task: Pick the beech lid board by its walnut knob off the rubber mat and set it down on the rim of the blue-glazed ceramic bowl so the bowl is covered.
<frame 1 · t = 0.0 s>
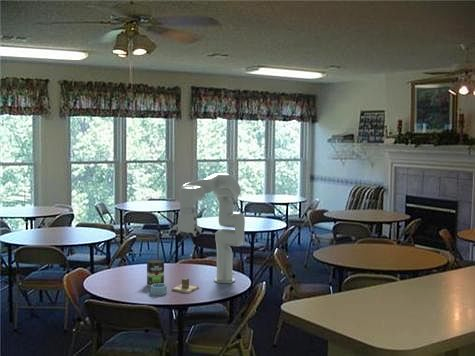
hand: (187, 242, 300), 31 cm above the table, fingers open, 9 cm apart
mat: (185, 290, 322), on the table
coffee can: (155, 284, 334), on the table
lid: (185, 289, 322), resting on mat
bowl: (158, 293, 316), on the table
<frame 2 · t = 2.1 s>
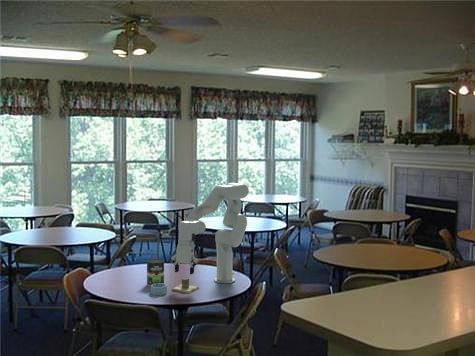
hand: (184, 272, 321), 10 cm above the table, fingers open, 9 cm apart
nothing on the table moved.
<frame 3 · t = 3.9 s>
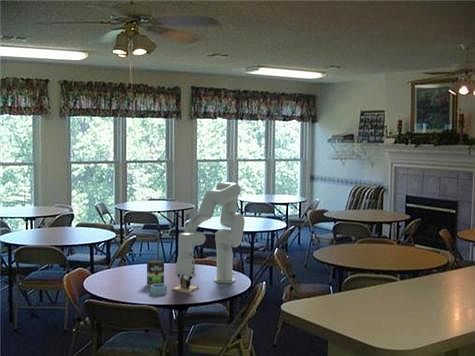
hand: (185, 286, 322), 2 cm above the table, fingers closed on lid, 3 cm apart
lid: (185, 289, 322), resting on mat, touching gripper
everything else where it was.
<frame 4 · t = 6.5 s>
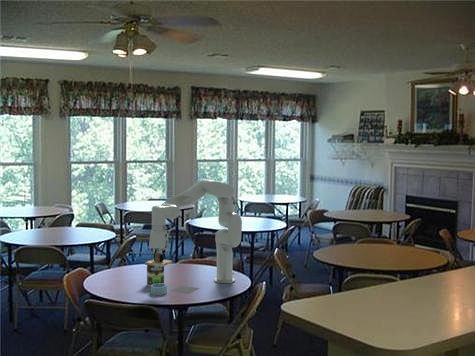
hand: (158, 260, 314), 19 cm above the table, fingers closed on lid, 3 cm apart
lid: (158, 263, 314), point 17 cm above the table, touching gripper
everything else where it was.
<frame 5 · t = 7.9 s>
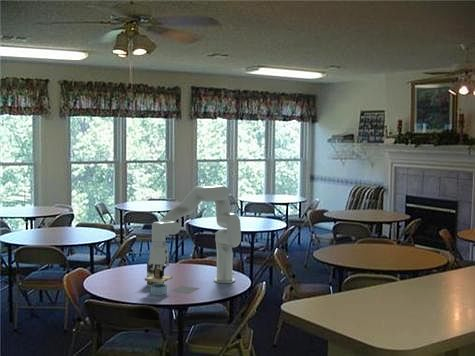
hand: (158, 276, 315), 10 cm above the table, fingers closed on lid, 3 cm apart
lid: (158, 279, 315), point 8 cm above the table, touching gripper
everything else where it was.
when the fingers open (7 cm above the table, at t = 9.1 s): lid drops 1 cm, resting on bowl.
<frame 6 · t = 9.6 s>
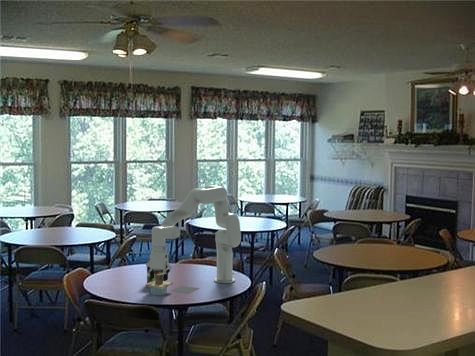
hand: (158, 279, 315), 8 cm above the table, fingers open, 8 cm apart
lid: (159, 285, 315), point 4 cm above the table, touching bowl
everything else where it was.
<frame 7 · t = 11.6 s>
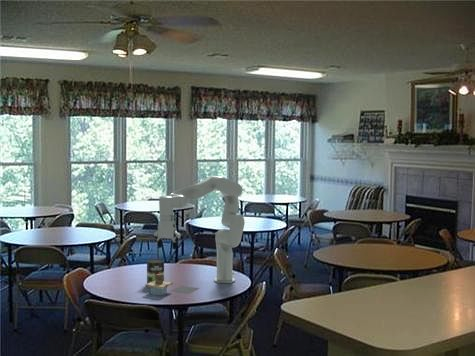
hand: (167, 248, 318), 25 cm above the table, fingers open, 9 cm apart
nothing on the table moved.
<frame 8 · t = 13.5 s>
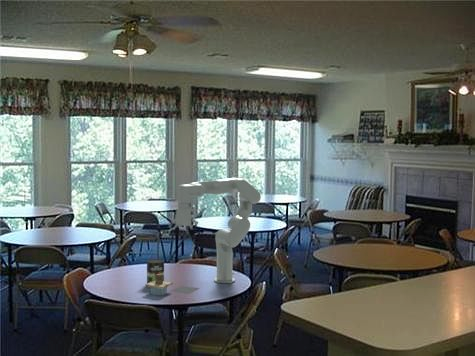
hand: (184, 235, 327), 30 cm above the table, fingers open, 9 cm apart
nothing on the table moved.
at the end: lid 0.1 cm from the bowl (horizontally); lid inside the target area (0.1 cm from its centre), point 4.5 cm above the table; lid tilted 0° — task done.
